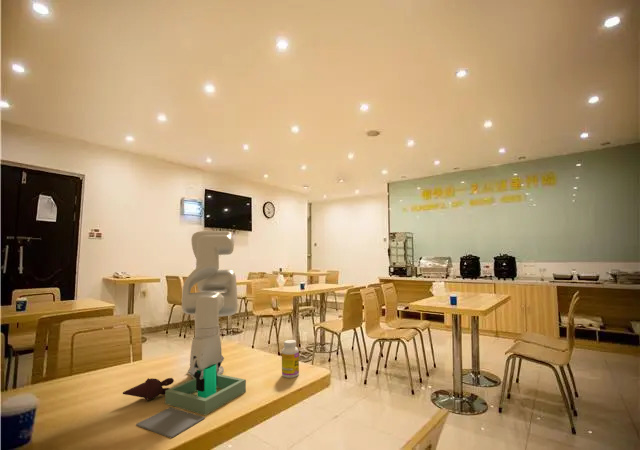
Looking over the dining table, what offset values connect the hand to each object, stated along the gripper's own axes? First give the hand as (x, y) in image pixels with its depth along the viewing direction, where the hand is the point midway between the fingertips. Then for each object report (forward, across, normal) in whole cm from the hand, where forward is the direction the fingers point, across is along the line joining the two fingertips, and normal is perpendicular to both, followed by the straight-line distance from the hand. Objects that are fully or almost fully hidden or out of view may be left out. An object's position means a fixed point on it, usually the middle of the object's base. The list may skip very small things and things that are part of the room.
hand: (206, 386), depth 108 cm
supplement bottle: (+4, -28, +15) cm, 32 cm away
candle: (+4, 0, 0) cm, 4 cm away
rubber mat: (+3, +16, +3) cm, 17 cm away
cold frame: (+3, 0, 0) cm, 3 cm away
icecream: (+4, +9, -17) cm, 20 cm away
